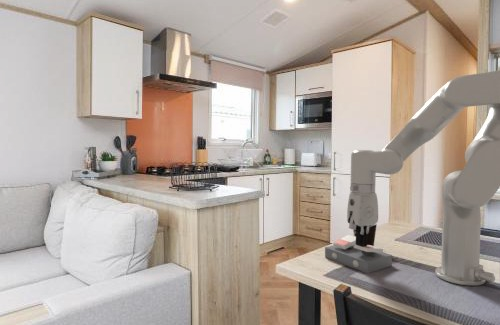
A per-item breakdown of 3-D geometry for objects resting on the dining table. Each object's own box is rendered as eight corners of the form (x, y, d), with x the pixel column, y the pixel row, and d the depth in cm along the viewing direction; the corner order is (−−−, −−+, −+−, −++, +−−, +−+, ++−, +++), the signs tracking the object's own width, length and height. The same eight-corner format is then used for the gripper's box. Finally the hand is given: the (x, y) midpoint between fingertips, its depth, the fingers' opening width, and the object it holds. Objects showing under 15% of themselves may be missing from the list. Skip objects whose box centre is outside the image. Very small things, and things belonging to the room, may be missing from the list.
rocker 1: (360, 241, 119) (359, 237, 118) (344, 249, 115) (344, 245, 114) (349, 237, 123) (348, 234, 123) (333, 245, 119) (333, 242, 118)
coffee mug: (372, 254, 122) (372, 226, 121) (348, 250, 127) (349, 223, 127) (381, 246, 131) (382, 220, 131) (359, 242, 137) (359, 218, 136)
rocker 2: (382, 252, 111) (383, 248, 111) (366, 251, 107) (367, 247, 107) (369, 248, 115) (370, 244, 115) (354, 247, 111) (354, 243, 111)
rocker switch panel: (391, 265, 111) (391, 252, 111) (367, 273, 104) (367, 259, 104) (348, 251, 126) (348, 239, 126) (324, 257, 119) (324, 244, 119)
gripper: (356, 192, 101) (354, 252, 102) (387, 188, 109) (386, 244, 110) (337, 189, 107) (336, 246, 109) (368, 186, 115) (367, 239, 117)
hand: (361, 245), depth 109 cm, fingers closed
